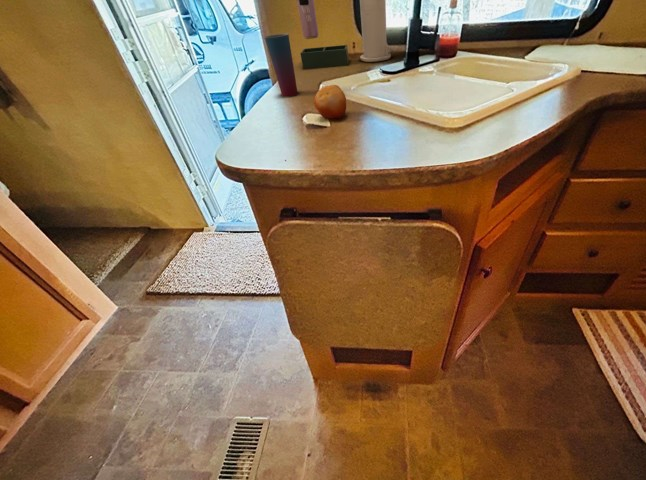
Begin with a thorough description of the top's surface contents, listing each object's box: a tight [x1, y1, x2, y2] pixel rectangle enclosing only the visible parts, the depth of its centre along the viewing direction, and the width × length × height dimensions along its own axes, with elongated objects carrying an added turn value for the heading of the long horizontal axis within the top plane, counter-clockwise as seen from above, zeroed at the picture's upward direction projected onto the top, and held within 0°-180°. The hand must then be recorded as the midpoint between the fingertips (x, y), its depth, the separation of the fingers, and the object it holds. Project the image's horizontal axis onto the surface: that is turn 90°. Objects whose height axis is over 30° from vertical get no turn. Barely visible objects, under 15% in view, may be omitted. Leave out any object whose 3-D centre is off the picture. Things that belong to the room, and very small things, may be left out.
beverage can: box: [296, 0, 320, 40], centre depth 115 cm, size 6×6×15 cm
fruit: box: [313, 84, 347, 120], centre depth 79 cm, size 8×8×8 cm
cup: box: [264, 32, 298, 98], centre depth 94 cm, size 7×7×15 cm
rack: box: [299, 44, 350, 70], centre depth 125 cm, size 18×9×5 cm, turn 90°
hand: (305, 3), depth 113 cm, fingers closed on beverage can, 6 cm apart
